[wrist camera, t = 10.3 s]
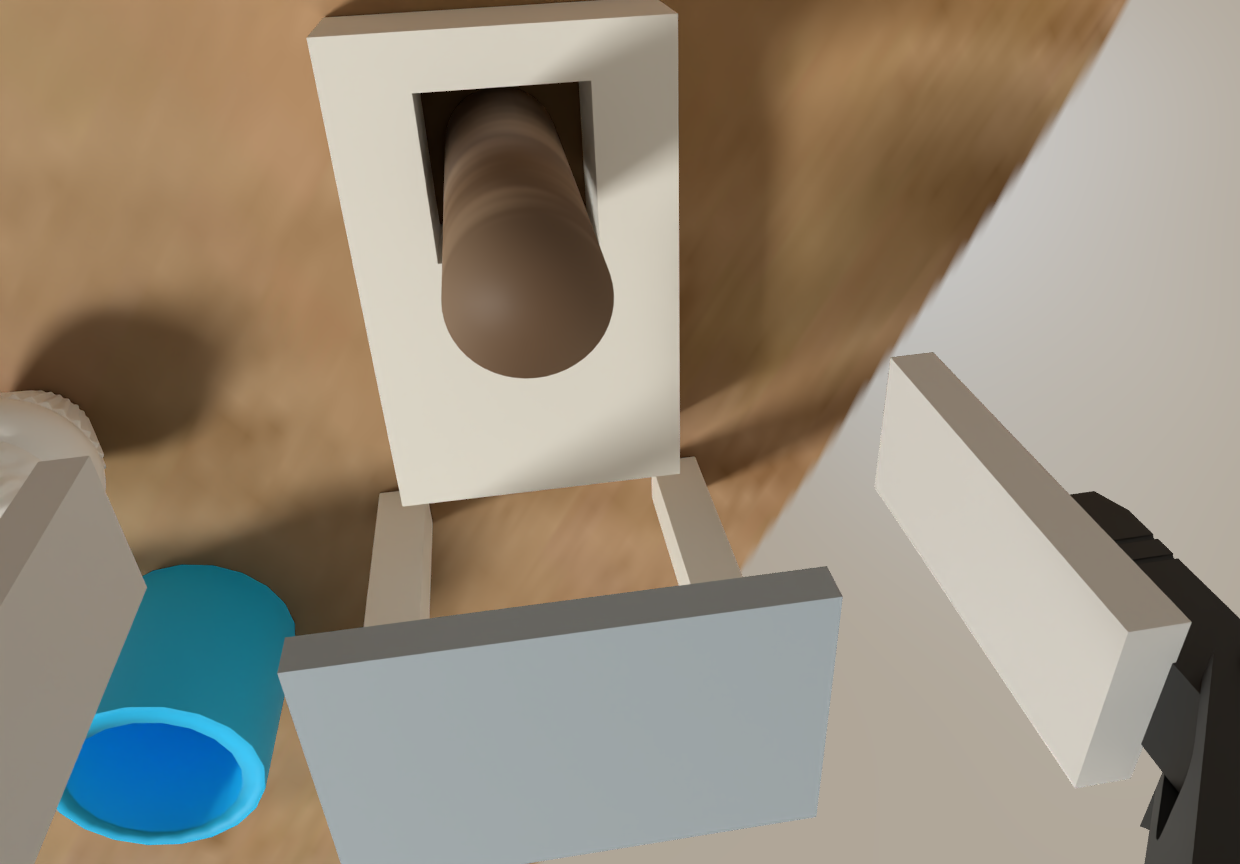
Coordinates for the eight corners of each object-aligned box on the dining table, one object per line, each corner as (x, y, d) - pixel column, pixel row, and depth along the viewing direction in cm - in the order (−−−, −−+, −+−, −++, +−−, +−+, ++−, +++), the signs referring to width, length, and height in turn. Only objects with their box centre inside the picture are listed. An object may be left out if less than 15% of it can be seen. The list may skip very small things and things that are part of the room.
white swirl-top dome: (24, 324, 34) (-67, 421, 28) (166, 427, 37) (111, 534, 31) (-78, 423, 35) (-183, 536, 30) (68, 515, 38) (-2, 633, 33)
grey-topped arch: (348, 349, 36) (276, 673, 22) (695, 314, 38) (842, 596, 23) (387, 529, 41) (350, 891, 27) (694, 492, 43) (816, 816, 28)
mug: (308, 578, 42) (279, 718, 35) (283, 702, 46) (252, 851, 39) (12, 536, 39) (-84, 682, 32) (11, 674, 42) (-75, 831, 36)
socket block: (323, 17, 30) (306, 37, 27) (654, -4, 31) (678, 13, 28) (407, 451, 39) (402, 506, 36) (661, 422, 40) (680, 473, 37)
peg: (453, 203, 34) (453, 386, 22) (437, 90, 32) (429, 227, 20) (561, 194, 34) (617, 369, 23) (552, 82, 32) (610, 211, 21)
